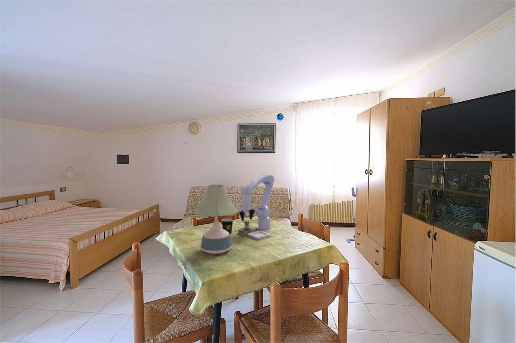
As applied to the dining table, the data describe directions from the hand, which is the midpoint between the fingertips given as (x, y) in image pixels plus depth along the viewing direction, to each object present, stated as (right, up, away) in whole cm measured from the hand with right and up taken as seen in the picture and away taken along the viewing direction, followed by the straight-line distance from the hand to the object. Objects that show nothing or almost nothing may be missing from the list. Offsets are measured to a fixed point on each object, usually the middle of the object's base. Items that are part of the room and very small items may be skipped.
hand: (246, 220), depth 186 cm
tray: (+9, -11, -6) cm, 15 cm away
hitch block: (0, -10, +1) cm, 10 cm away
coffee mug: (-16, -10, +2) cm, 19 cm away
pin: (0, -10, +1) cm, 10 cm away
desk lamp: (-17, -12, -34) cm, 40 cm away
